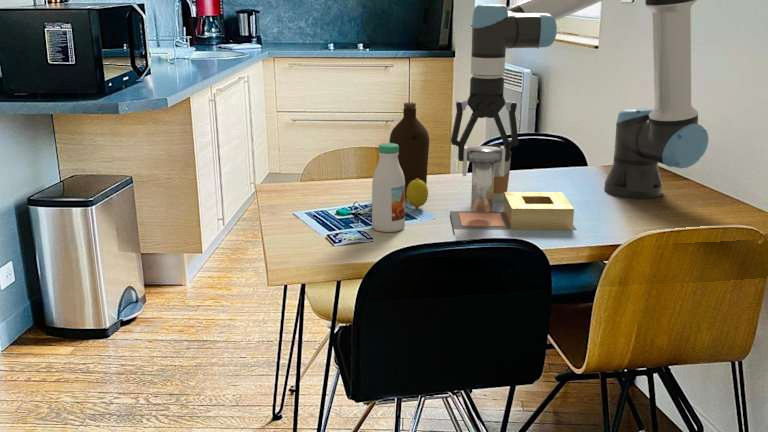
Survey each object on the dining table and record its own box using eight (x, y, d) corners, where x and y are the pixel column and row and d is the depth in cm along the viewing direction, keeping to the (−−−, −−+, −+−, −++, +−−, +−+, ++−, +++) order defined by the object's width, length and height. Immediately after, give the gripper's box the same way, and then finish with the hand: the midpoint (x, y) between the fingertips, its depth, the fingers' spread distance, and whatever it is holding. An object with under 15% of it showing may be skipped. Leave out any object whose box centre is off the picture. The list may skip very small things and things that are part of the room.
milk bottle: (379, 234, 173) (379, 149, 167) (367, 225, 180) (366, 142, 174) (410, 230, 176) (411, 146, 170) (396, 221, 183) (397, 140, 177)
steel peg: (496, 204, 182) (499, 146, 178) (500, 214, 174) (503, 153, 170) (463, 204, 182) (465, 145, 178) (465, 214, 174) (468, 153, 170)
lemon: (405, 205, 196) (405, 175, 193) (426, 205, 196) (426, 175, 194) (407, 212, 190) (407, 181, 188) (429, 211, 191) (429, 180, 188)
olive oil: (436, 195, 205) (438, 103, 198) (408, 202, 198) (409, 107, 191) (408, 187, 213) (409, 99, 205) (381, 194, 206) (381, 103, 198)
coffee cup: (508, 209, 193) (511, 151, 188) (475, 207, 194) (477, 150, 190) (509, 200, 201) (512, 144, 196) (478, 198, 202) (480, 143, 198)
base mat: (563, 217, 186) (564, 211, 185) (576, 236, 172) (576, 229, 172) (449, 216, 186) (450, 210, 186) (453, 235, 173) (453, 228, 172)
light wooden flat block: (560, 212, 185) (561, 192, 184) (572, 229, 172) (574, 208, 170) (502, 211, 186) (504, 191, 184) (510, 229, 172) (511, 208, 171)
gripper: (531, 74, 172) (525, 171, 179) (440, 73, 173) (437, 170, 179) (536, 78, 165) (530, 179, 172) (441, 77, 166) (439, 178, 172)
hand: (483, 174), depth 176 cm, fingers closed on steel peg, 8 cm apart
